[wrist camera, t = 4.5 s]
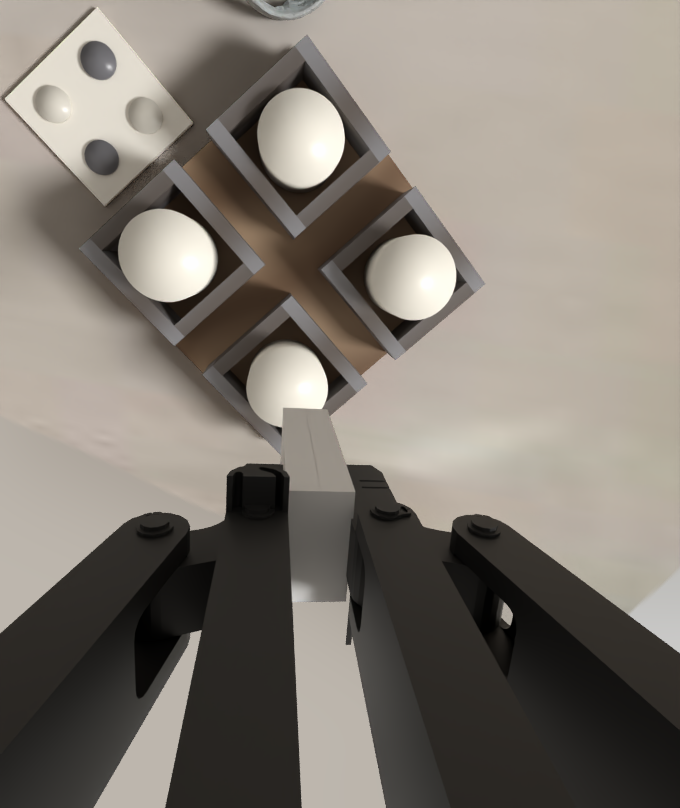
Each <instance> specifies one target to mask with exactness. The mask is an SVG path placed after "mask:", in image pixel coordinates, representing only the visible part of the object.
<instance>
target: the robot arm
mask: <svg viewBox="0 0 680 808" xmlns="http://www.w3.org/2000/svg"><path fill="white" fill-rule="evenodd" d="M347 582H348V586H349V590H350V603H349V614H348V625H347V636H346V645H351V639H352V637H353V641H354V646H355V651H356V656H357V661H358V667H359V672H360V677H361V682H362V687H363V692H364V697H365V702H366V707H367V712H368V717H369V722H370V727H371V733H372V738H373V743H374V748H375V753H376V758H377V763H378V768H379V774H380V779H381V784H382V789H383V794H384V799H385V804H386V808H680V653H679V652H677V651H676V650H674V649H673V648H672V647H670V646H669V645H668V644H667V643H665V642H664V641H662V640H661V639H660V638H658V637H657V636H656V635H654V634H653V633H652V632H650V631H649V630H648V629H646V628H645V627H643V626H642V625H641V624H640V623H638V622H637V621H635V620H634V619H633V618H632V617H630V616H629V615H628V614H626V613H625V612H624V611H622V610H621V609H619V608H618V607H617V606H615V605H614V604H613V603H611V602H610V601H609V600H607V599H606V598H605V597H603V596H602V595H601V594H599V593H598V592H597V591H595V590H594V589H593V588H591V587H590V586H589V585H587V584H586V583H585V582H583V581H582V580H581V579H579V578H578V577H576V576H575V575H574V574H572V573H571V572H570V571H568V570H567V569H566V568H564V567H563V566H562V565H560V564H559V563H558V562H556V561H555V560H554V559H552V558H551V557H550V556H548V555H547V554H546V553H544V552H543V551H542V550H540V549H539V548H538V547H536V546H535V545H533V544H532V543H531V542H529V541H528V540H527V539H525V538H524V537H523V536H521V535H520V534H519V533H517V532H516V531H515V530H513V529H512V528H511V527H509V526H508V525H506V524H504V523H502V522H501V521H499V520H496V519H493V518H491V517H489V516H485V515H483V516H482V515H479V514H475V515H464V516H461V517H457V518H456V519H455V520H454V521H453V524H452V531H451V532H445V531H439V530H434V529H430V528H425V527H423V526H422V524H421V523H420V521H419V519H418V517H417V515H416V514H415V512H414V511H413V510H412V509H411V508H409V507H407V506H405V505H403V504H400V503H397V502H396V500H395V498H394V496H393V494H392V492H391V490H390V489H389V486H388V484H387V482H386V480H385V478H384V476H383V474H382V472H380V471H379V470H377V469H376V468H374V467H373V466H371V465H346V463H345V460H344V457H343V454H342V451H341V448H340V445H339V442H338V439H337V436H336V433H335V430H334V427H333V424H332V422H331V419H330V416H329V413H328V410H327V409H306V408H283V418H282V440H281V461H280V464H246V465H245V466H243V467H238V468H236V469H234V470H232V471H230V472H229V474H228V475H227V495H226V515H225V520H224V521H222V522H221V523H219V524H217V525H214V526H212V527H208V528H204V529H199V530H193V531H190V525H189V523H188V521H187V520H186V519H185V518H183V517H181V516H179V515H175V514H171V513H162V512H154V513H147V514H144V515H141V516H139V517H136V518H132V519H131V520H129V521H127V522H126V523H124V524H123V525H122V526H121V527H119V529H117V530H116V531H115V532H114V533H113V534H112V535H111V536H109V537H108V538H107V539H106V540H105V541H104V542H103V543H102V544H100V545H99V546H98V547H97V548H96V549H95V550H94V551H93V552H91V553H90V554H89V555H88V556H87V557H86V558H85V559H83V560H82V561H81V562H80V563H79V564H78V565H77V566H76V567H74V568H73V569H72V570H71V571H70V572H69V573H68V574H67V575H66V576H65V577H63V578H62V579H61V580H60V581H59V582H58V583H57V584H56V585H54V586H53V587H52V588H51V589H50V590H49V591H48V592H46V593H45V594H44V595H43V596H42V597H41V598H40V599H39V600H37V601H36V602H35V603H34V604H33V605H32V606H31V607H30V608H28V609H27V610H26V611H25V612H24V613H23V614H22V615H21V616H19V617H18V618H17V619H16V620H15V621H14V622H13V623H12V624H10V625H9V626H8V627H7V628H6V629H5V630H4V631H3V632H1V633H0V808H93V807H94V806H95V804H96V802H97V801H98V799H99V797H100V795H101V794H102V792H103V790H104V788H105V787H106V785H107V783H108V782H109V780H110V778H111V777H112V775H113V773H114V771H115V770H116V768H117V766H118V765H119V763H120V761H121V759H122V757H123V756H124V754H125V753H126V751H127V749H128V747H129V746H130V744H131V742H132V740H133V739H134V737H135V735H136V734H137V732H138V730H139V728H140V727H141V725H142V723H143V722H144V720H145V718H146V716H147V715H148V713H149V711H150V710H151V708H152V706H153V704H154V703H155V701H156V699H157V698H158V696H159V694H160V692H161V691H162V689H163V687H164V685H165V684H166V682H167V680H168V679H169V677H170V675H171V673H172V672H173V670H174V668H175V666H176V665H177V663H178V661H179V660H180V658H181V656H182V654H183V653H184V651H185V649H186V648H187V646H188V642H189V639H190V633H191V632H195V631H199V630H202V632H201V637H200V641H199V646H198V651H197V657H196V661H195V666H194V671H193V675H192V680H191V685H190V691H189V695H188V700H187V705H186V709H185V715H184V719H183V724H182V729H181V734H180V739H179V744H178V748H177V753H176V758H175V763H174V768H173V773H172V778H171V783H170V788H169V792H168V797H167V802H166V807H165V808H302V807H301V785H300V763H299V743H298V742H299V741H298V721H297V698H296V675H295V655H294V632H293V611H292V602H327V601H329V602H335V601H346V592H347ZM504 602H505V603H506V604H507V605H508V607H509V608H510V609H511V611H512V613H513V618H512V623H511V625H508V624H507V623H506V622H505V621H504V620H503V619H502V618H501V615H502V609H503V604H504Z"/></svg>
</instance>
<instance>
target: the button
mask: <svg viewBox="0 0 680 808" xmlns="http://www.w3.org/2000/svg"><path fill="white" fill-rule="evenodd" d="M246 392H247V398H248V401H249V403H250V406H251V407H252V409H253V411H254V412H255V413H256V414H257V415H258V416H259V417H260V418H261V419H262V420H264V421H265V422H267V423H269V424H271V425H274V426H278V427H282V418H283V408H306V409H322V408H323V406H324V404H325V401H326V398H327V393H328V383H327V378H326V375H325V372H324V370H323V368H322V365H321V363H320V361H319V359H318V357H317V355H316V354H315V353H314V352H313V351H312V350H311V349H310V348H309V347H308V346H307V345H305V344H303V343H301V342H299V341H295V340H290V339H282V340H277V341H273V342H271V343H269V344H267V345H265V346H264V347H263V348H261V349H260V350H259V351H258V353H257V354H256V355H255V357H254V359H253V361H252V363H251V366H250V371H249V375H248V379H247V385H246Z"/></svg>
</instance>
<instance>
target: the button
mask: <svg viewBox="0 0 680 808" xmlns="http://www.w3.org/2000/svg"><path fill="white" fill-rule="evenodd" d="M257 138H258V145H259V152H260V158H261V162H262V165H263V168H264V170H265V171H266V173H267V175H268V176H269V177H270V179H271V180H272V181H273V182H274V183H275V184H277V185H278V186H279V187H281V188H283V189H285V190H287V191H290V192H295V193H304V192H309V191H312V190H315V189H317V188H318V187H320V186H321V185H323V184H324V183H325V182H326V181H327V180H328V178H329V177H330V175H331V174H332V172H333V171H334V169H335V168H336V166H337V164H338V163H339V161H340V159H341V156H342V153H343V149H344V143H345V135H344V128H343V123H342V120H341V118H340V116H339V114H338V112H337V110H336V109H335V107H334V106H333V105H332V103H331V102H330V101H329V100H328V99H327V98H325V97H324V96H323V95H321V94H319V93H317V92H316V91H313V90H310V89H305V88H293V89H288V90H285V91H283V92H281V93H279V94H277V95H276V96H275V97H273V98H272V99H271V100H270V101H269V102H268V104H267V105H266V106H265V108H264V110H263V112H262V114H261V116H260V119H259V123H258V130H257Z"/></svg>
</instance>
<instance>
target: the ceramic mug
mask: <svg viewBox="0 0 680 808" xmlns="http://www.w3.org/2000/svg"><path fill="white" fill-rule="evenodd" d="M246 1H247V2H248V3H249V4H250V5H251V6H252V7H253V8H254V9H255V10H257V11H258V12H260V13H261V14H263V15H264V16H266V17H269V18H271V19H275V20H295V19H298V18H301V17H303V16H305V15H307V14H309V13H311V12H312V11H314V10H315V9H316V8H318V7H319V6H320V5H321V4H322V3H323V2H324V1H325V0H294V1H293V0H287V1H286V2H285V3H284V4H283V6H277V7H273V6H271V5H270V4H268V3H266V2H265V1H263V0H246Z"/></svg>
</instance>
